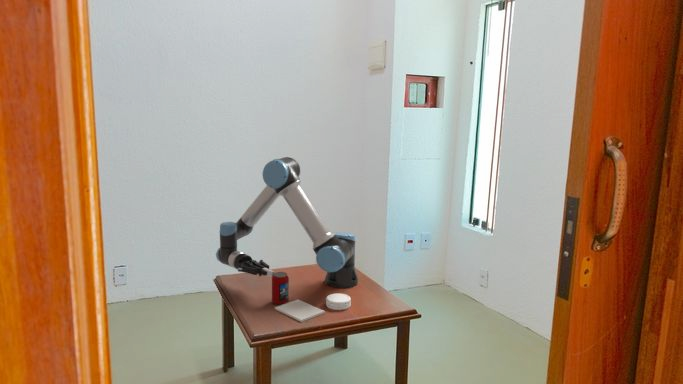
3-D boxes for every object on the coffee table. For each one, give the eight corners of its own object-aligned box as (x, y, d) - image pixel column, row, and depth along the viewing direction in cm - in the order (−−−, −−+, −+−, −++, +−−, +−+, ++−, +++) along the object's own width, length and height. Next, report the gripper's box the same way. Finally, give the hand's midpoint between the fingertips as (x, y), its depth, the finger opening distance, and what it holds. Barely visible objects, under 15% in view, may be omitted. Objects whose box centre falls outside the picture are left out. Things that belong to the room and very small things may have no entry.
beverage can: (285, 306, 194) (285, 277, 192) (269, 304, 196) (269, 276, 194) (290, 300, 201) (290, 272, 199) (275, 298, 202) (275, 270, 200)
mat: (274, 309, 191) (274, 307, 191) (298, 301, 200) (298, 299, 200) (301, 322, 180) (301, 320, 180) (324, 313, 189) (324, 311, 188)
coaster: (355, 308, 195) (355, 299, 194) (332, 312, 190) (333, 304, 189) (343, 299, 203) (343, 291, 203) (321, 303, 199) (321, 295, 198)
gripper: (253, 266, 220) (285, 280, 203) (228, 272, 211) (260, 287, 194) (252, 250, 219) (285, 262, 202) (227, 256, 210) (259, 269, 193)
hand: (273, 274), depth 198 cm, fingers closed
